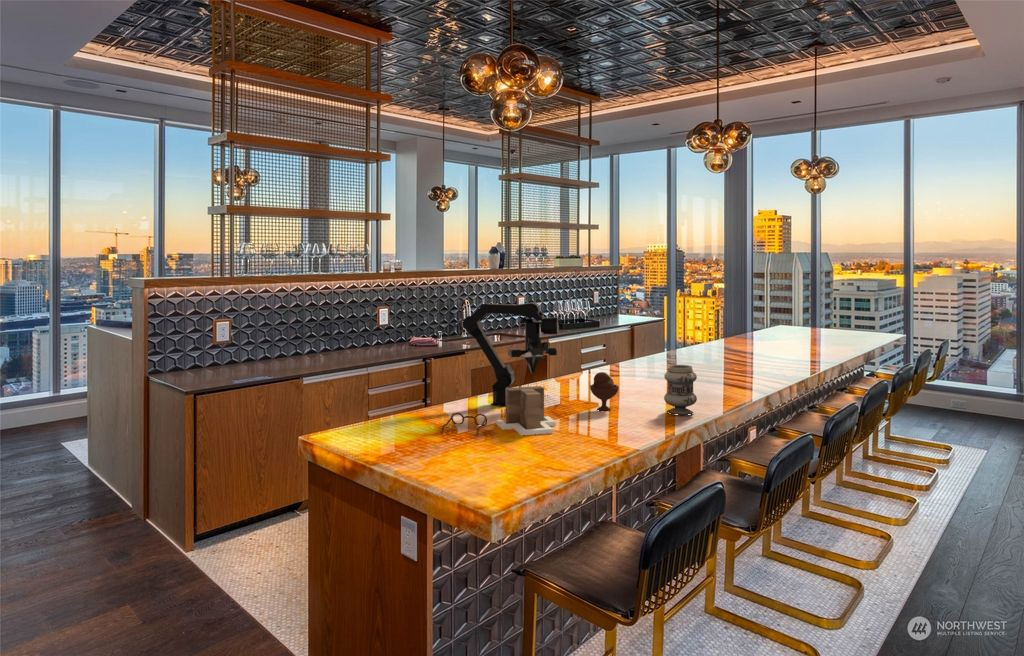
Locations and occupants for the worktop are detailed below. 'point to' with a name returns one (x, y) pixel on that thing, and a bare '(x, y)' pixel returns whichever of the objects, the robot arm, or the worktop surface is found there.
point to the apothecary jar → (680, 389)
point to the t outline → (522, 431)
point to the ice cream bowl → (603, 389)
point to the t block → (525, 406)
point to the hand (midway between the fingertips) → (532, 373)
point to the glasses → (463, 421)
